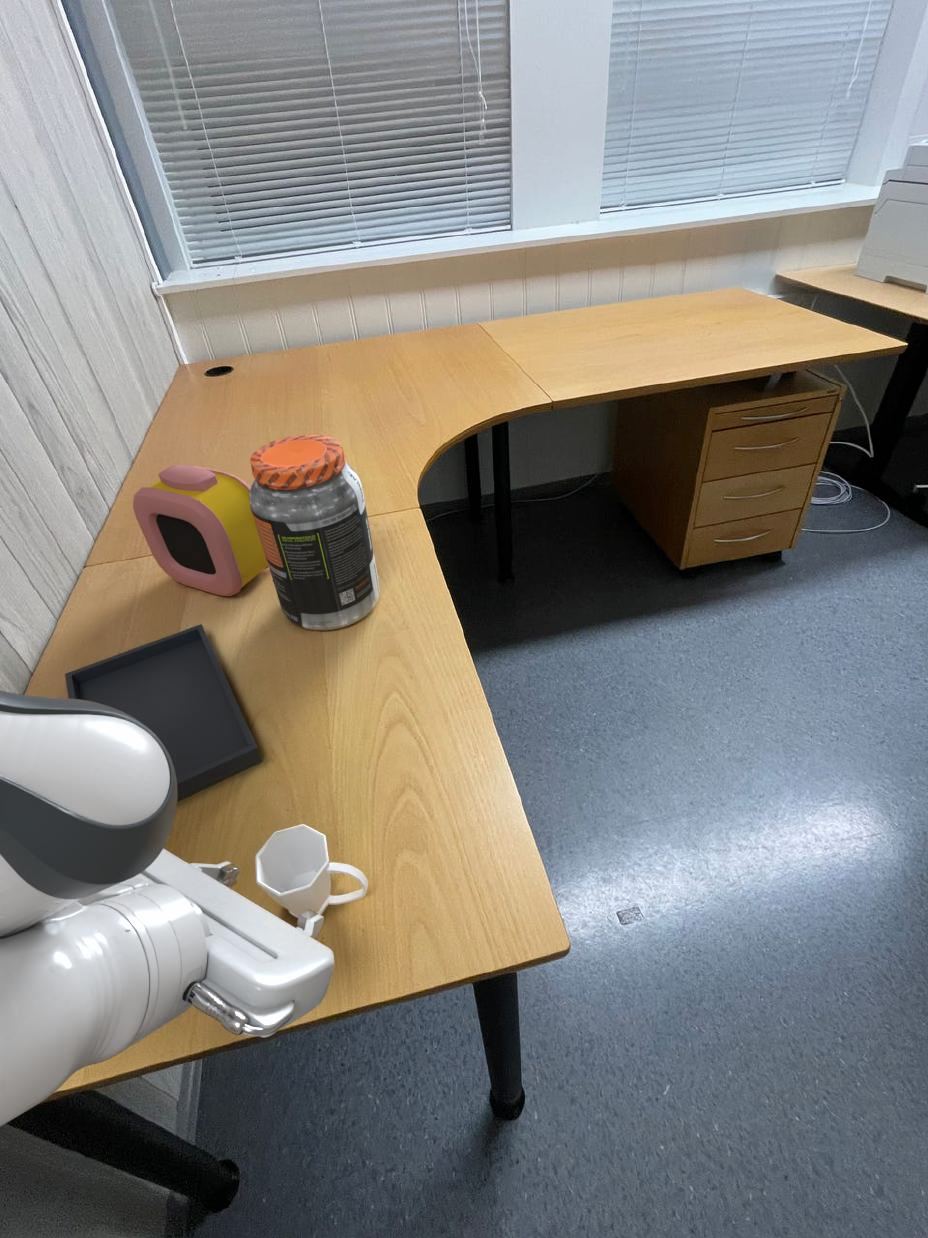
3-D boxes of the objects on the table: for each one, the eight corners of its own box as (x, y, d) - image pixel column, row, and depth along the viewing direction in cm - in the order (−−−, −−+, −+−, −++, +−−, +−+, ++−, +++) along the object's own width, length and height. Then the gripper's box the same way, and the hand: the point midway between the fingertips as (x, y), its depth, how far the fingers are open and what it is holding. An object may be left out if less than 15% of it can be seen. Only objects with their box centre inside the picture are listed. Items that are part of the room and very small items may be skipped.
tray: (263, 761, 73) (256, 747, 72) (98, 838, 66) (87, 825, 64) (207, 637, 92) (201, 623, 90) (74, 687, 85) (64, 673, 83)
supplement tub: (393, 579, 101) (372, 431, 85) (361, 641, 90) (329, 483, 73) (307, 570, 104) (270, 425, 88) (264, 629, 93) (213, 474, 76)
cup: (287, 863, 63) (268, 821, 58) (380, 870, 62) (369, 828, 57) (263, 932, 58) (240, 893, 53) (365, 941, 57) (351, 902, 52)
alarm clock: (160, 581, 104) (113, 478, 91) (206, 548, 111) (168, 449, 99) (243, 607, 97) (206, 500, 85) (286, 570, 105) (257, 467, 92)
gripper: (272, 995, 36) (383, 916, 49) (55, 850, 43) (200, 815, 56) (239, 1097, 36) (359, 991, 48) (28, 934, 43) (180, 880, 56)
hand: (272, 896), depth 52 cm, fingers open, 8 cm apart
